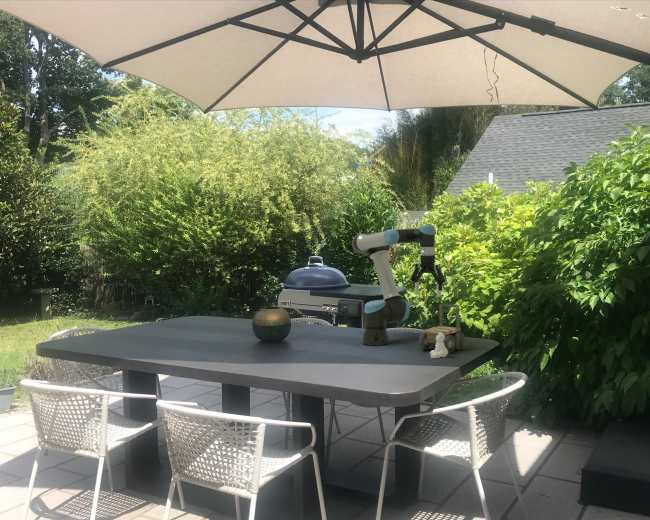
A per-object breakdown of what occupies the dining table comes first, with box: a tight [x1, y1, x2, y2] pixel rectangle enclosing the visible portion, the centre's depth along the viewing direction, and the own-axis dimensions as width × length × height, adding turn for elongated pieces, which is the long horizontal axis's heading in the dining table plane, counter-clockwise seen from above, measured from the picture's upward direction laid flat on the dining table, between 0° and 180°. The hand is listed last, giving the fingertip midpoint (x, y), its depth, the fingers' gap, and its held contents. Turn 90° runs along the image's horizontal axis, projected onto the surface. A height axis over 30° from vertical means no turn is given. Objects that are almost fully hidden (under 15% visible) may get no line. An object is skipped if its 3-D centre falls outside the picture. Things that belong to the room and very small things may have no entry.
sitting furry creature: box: [429, 332, 449, 359], centre depth 310 cm, size 10×9×12 cm
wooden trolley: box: [418, 303, 466, 354], centre depth 325 cm, size 19×16×23 cm
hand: (427, 295), depth 329 cm, fingers open, 13 cm apart
